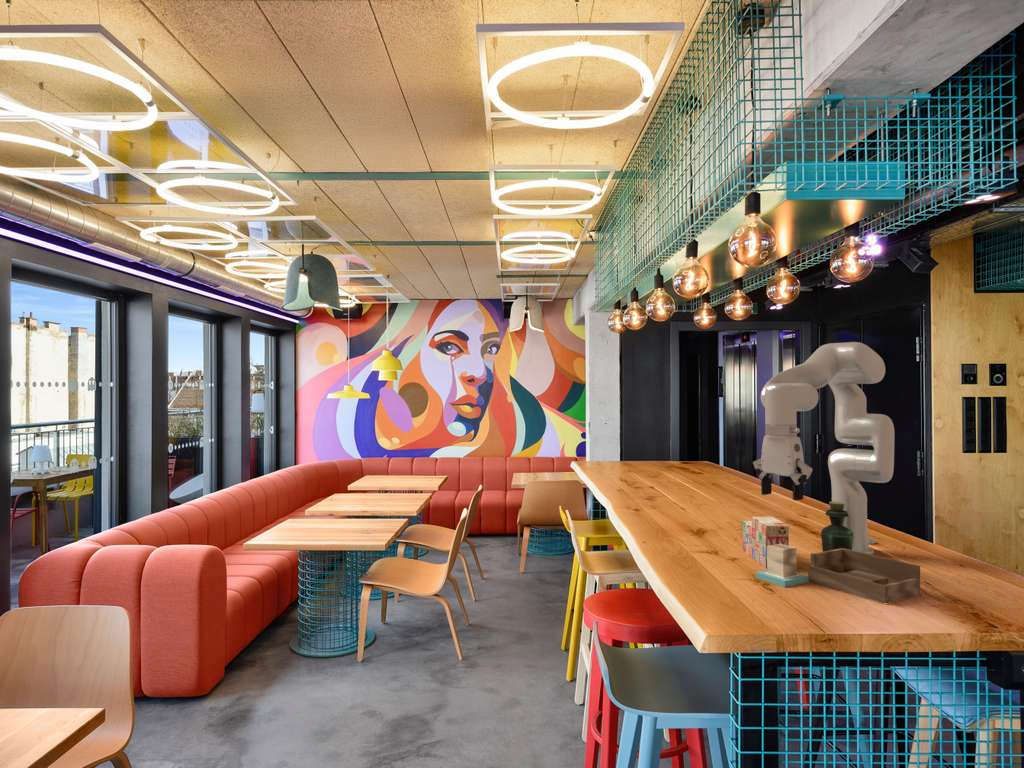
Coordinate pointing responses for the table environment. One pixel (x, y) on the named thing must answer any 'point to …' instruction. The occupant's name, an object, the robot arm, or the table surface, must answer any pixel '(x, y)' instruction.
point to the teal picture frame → (782, 579)
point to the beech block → (781, 560)
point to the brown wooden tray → (865, 575)
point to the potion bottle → (836, 529)
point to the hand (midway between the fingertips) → (781, 497)
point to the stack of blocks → (763, 536)
